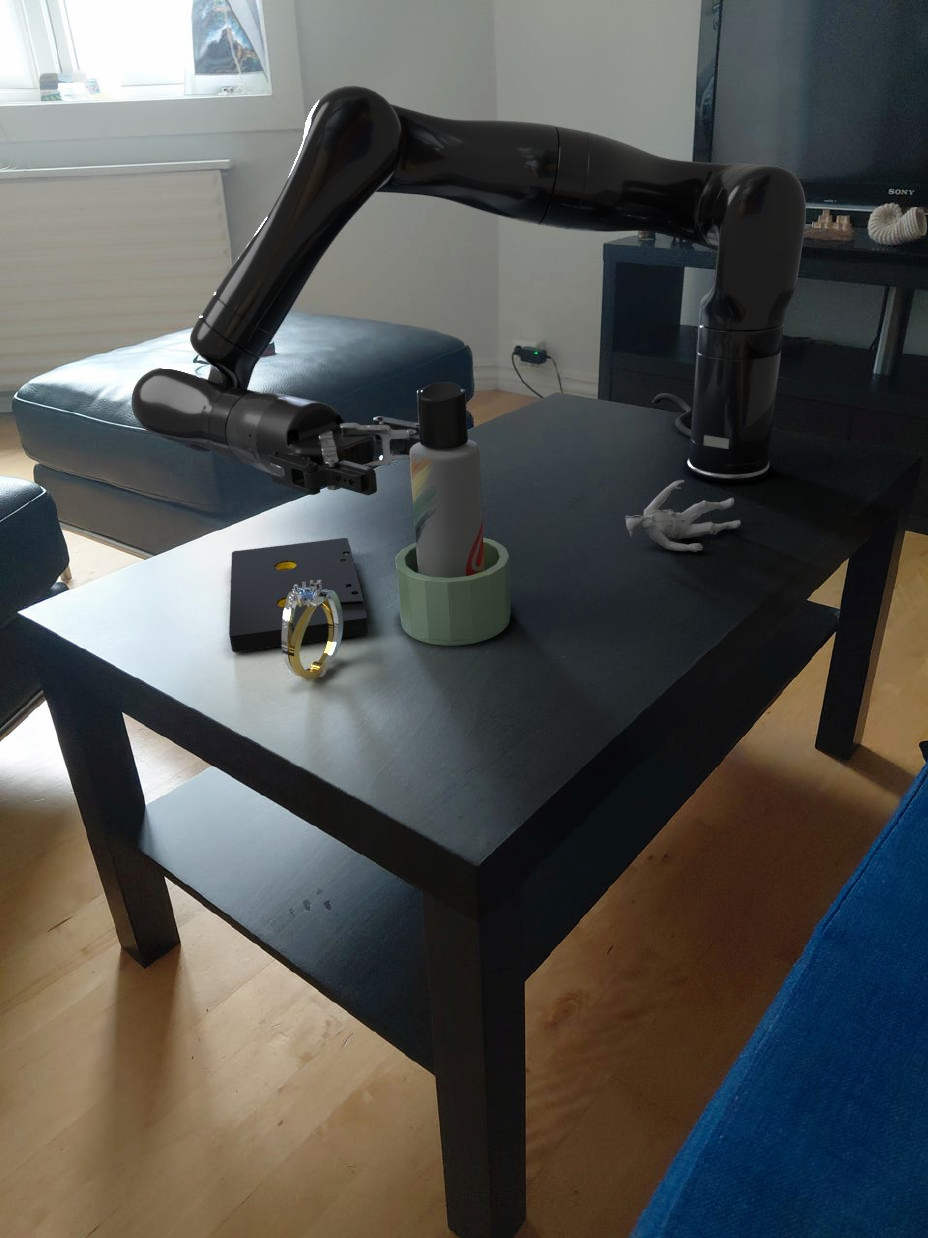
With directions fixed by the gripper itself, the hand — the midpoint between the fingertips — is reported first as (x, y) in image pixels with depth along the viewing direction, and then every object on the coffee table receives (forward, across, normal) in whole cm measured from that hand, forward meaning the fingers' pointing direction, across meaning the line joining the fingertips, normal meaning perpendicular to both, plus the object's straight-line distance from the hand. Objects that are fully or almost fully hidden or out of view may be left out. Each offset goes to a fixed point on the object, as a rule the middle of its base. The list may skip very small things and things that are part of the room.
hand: (410, 468), depth 79 cm
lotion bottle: (+4, 0, +13) cm, 13 cm away
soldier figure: (+12, +27, +13) cm, 32 cm away
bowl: (+4, 0, +13) cm, 14 cm away
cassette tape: (-10, -6, +13) cm, 18 cm away
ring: (+2, -14, +13) cm, 19 cm away
